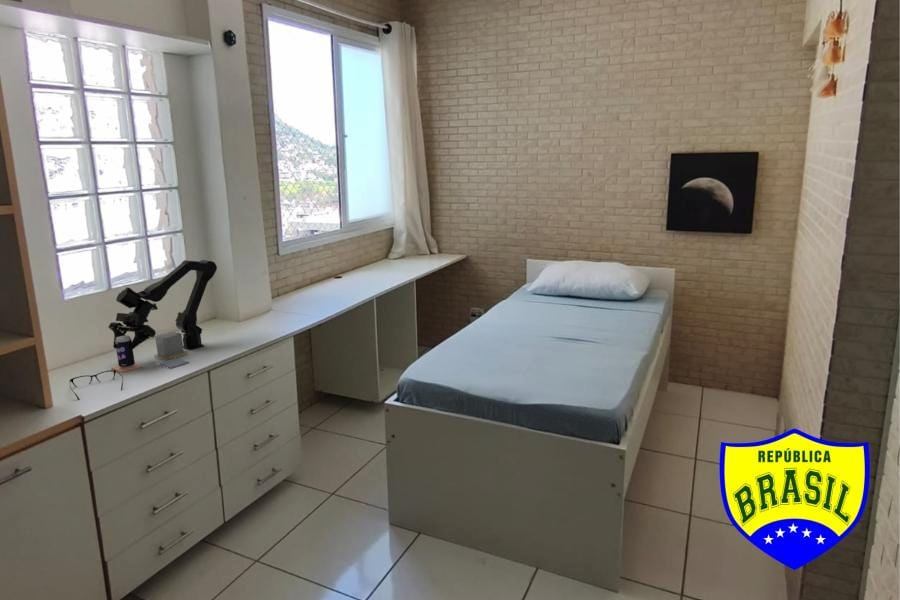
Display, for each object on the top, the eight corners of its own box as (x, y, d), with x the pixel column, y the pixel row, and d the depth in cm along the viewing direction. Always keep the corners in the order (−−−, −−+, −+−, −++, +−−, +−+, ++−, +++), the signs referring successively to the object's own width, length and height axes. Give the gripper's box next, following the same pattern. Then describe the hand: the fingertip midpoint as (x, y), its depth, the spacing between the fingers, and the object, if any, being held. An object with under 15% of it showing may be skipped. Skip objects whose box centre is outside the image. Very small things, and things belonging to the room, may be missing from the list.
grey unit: (177, 350, 259) (174, 330, 257) (187, 354, 255) (184, 333, 253) (154, 357, 251) (151, 336, 249) (164, 360, 247) (161, 339, 245)
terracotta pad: (131, 363, 245) (131, 361, 245) (141, 366, 240) (141, 365, 240) (111, 369, 239) (111, 367, 238) (121, 372, 234) (121, 371, 234)
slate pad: (178, 359, 248) (177, 358, 248) (189, 363, 244) (189, 361, 244) (159, 365, 242) (159, 363, 242) (170, 368, 237) (170, 367, 237)
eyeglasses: (119, 378, 230) (118, 368, 229) (127, 390, 217) (125, 380, 216) (69, 388, 220) (67, 378, 219) (73, 402, 208) (71, 391, 207)
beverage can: (120, 364, 241) (115, 336, 238) (135, 363, 243) (131, 334, 240) (118, 369, 236) (113, 340, 233) (134, 367, 238) (130, 338, 235)
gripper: (108, 302, 241) (89, 337, 233) (145, 305, 235) (127, 340, 228) (127, 316, 250) (109, 350, 242) (163, 319, 244) (146, 354, 237)
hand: (122, 348), depth 237 cm, fingers open, 8 cm apart
